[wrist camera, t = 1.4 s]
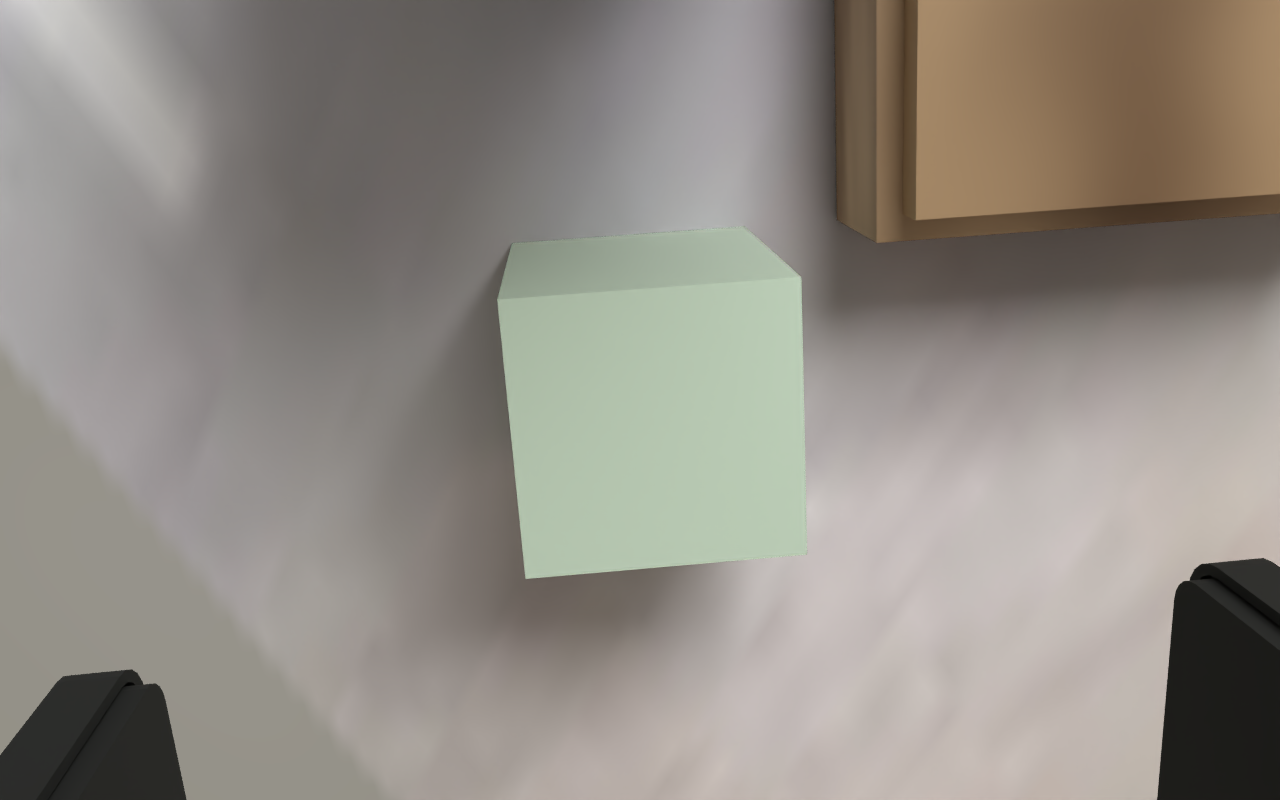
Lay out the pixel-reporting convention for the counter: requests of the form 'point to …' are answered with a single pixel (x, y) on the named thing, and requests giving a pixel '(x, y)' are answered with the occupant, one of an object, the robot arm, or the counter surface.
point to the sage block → (654, 400)
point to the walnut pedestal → (1053, 114)
